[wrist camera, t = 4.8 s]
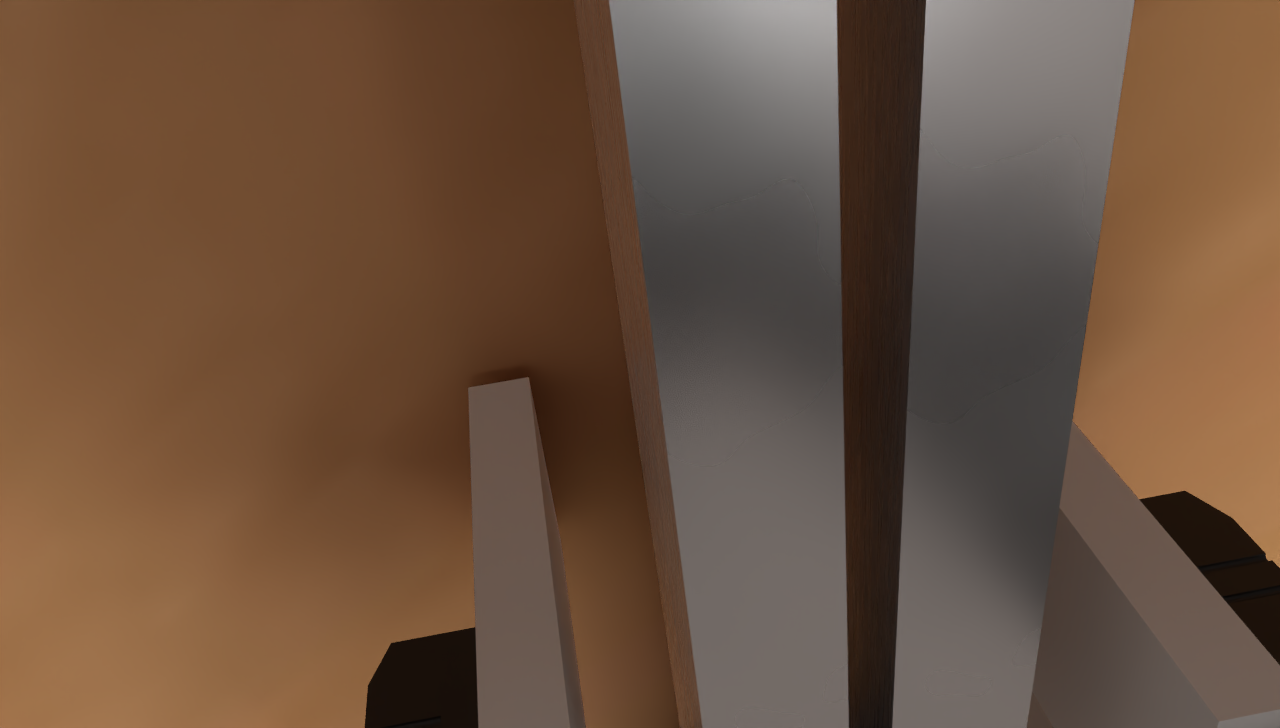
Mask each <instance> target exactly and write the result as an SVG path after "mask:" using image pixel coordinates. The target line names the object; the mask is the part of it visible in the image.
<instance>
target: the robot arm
mask: <svg viewBox="0 0 1280 728" xmlns="http://www.w3.org/2000/svg"><path fill="white" fill-rule="evenodd" d="M468 395H469V429H470V462H471V495H472V529H473V562H474V596H475V627H474V628H469V629H464V630H458V631H453V632H448V633H443V634H437V635H432V636H427V637H421V638H416V639H411V640H405V641H400V642H395V643H391V645H390V646H389V648H388V650H387V652H386V654H385V656H384V657H383V659H382V661H381V663H380V665H379V667H378V668H377V670H376V672H375V674H374V676H373V678H372V679H371V681H370V683H369V685H368V693H367V706H366V719H365V728H586V725H585V718H584V710H583V703H582V695H581V688H580V680H579V673H578V665H577V658H576V650H575V642H574V635H573V627H572V620H571V612H570V605H569V597H568V590H567V582H566V575H565V567H564V560H563V552H562V545H561V538H560V533H559V528H558V523H557V518H556V513H555V508H554V503H553V498H552V493H551V488H550V482H549V477H548V472H547V467H546V462H545V457H544V452H543V447H542V442H541V437H540V432H539V427H538V422H537V416H536V411H535V406H534V401H533V396H532V391H531V386H530V381H529V377H527V378H521V379H515V380H509V381H503V382H498V383H492V384H486V385H480V386H475V387H469V388H468ZM1265 554H1266V553H1265V552H1264V551H1263V550H1262V549H1261V548H1260V547H1259V546H1258V545H1257V544H1256V543H1255V542H1254V541H1253V540H1252V539H1251V537H1250V536H1249V535H1248V534H1247V533H1246V532H1245V531H1244V530H1243V529H1242V528H1241V527H1240V526H1239V525H1238V524H1237V523H1236V522H1235V520H1234V519H1233V518H1231V517H1230V516H1228V515H1226V514H1224V513H1223V512H1221V511H1219V510H1217V509H1216V508H1214V507H1212V506H1211V505H1209V504H1207V503H1205V502H1204V501H1202V500H1200V499H1199V498H1197V497H1195V496H1193V495H1192V494H1190V493H1188V492H1186V491H1181V492H1176V493H1171V494H1165V495H1160V496H1155V497H1150V498H1144V499H1138V498H1137V496H1136V495H1135V494H1134V493H1133V492H1132V491H1131V489H1130V488H1129V487H1128V486H1127V485H1126V483H1125V482H1124V481H1123V480H1122V479H1121V478H1120V476H1119V475H1118V474H1117V473H1116V472H1115V470H1114V469H1113V468H1112V467H1111V466H1110V465H1109V463H1108V462H1107V461H1106V460H1105V459H1104V458H1103V456H1102V455H1101V454H1100V453H1099V452H1098V450H1097V449H1096V448H1095V447H1094V446H1093V445H1092V443H1091V442H1090V441H1089V440H1088V439H1087V437H1086V436H1085V435H1084V434H1083V433H1082V432H1081V430H1080V429H1079V428H1078V427H1077V426H1076V424H1075V423H1074V422H1073V421H1072V425H1071V432H1070V439H1069V446H1068V452H1067V459H1066V466H1065V472H1064V479H1063V486H1062V493H1061V499H1060V506H1059V513H1058V520H1057V526H1056V533H1055V540H1054V547H1053V553H1052V560H1051V567H1050V574H1049V580H1048V587H1047V594H1046V600H1045V607H1044V614H1043V621H1042V627H1041V634H1040V641H1039V648H1038V654H1037V661H1036V668H1035V675H1034V681H1033V688H1032V691H1033V693H1034V695H1035V697H1036V698H1037V700H1038V702H1039V704H1040V705H1041V707H1042V709H1043V710H1044V712H1045V714H1046V716H1047V717H1048V719H1049V721H1050V722H1051V724H1052V726H1053V728H1280V568H1279V567H1278V566H1277V565H1276V564H1275V563H1274V562H1273V561H1268V560H1267V559H1266V556H1265Z"/></svg>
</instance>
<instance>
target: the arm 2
mask: <svg viewBox="0 0 1280 728" xmlns="http://www.w3.org/2000/svg"><path fill="white" fill-rule="evenodd" d="M1134 1H1135V0H837V57H838V117H839V176H840V235H841V294H842V353H843V413H844V472H845V531H846V590H847V649H848V709H849V728H1027V722H1028V715H1029V708H1030V701H1031V695H1032V688H1033V681H1034V675H1035V668H1036V661H1037V654H1038V648H1039V641H1040V634H1041V627H1042V621H1043V614H1044V607H1045V600H1046V594H1047V587H1048V580H1049V574H1050V567H1051V560H1052V553H1053V547H1054V540H1055V533H1056V526H1057V520H1058V513H1059V506H1060V499H1061V493H1062V486H1063V479H1064V472H1065V466H1066V459H1067V452H1068V446H1069V439H1070V432H1071V425H1072V419H1073V412H1074V405H1075V398H1076V392H1077V385H1078V378H1079V371H1080V365H1081V358H1082V351H1083V345H1084V338H1085V331H1086V324H1087V318H1088V311H1089V304H1090V297H1091V291H1092V284H1093V277H1094V270H1095V264H1096V257H1097V250H1098V243H1099V237H1100V230H1101V223H1102V217H1103V210H1104V203H1105V196H1106V190H1107V183H1108V176H1109V169H1110V163H1111V156H1112V149H1113V142H1114V136H1115V129H1116V122H1117V116H1118V109H1119V102H1120V95H1121V89H1122V82H1123V75H1124V68H1125V62H1126V55H1127V48H1128V41H1129V35H1130V28H1131V21H1132V15H1133V8H1134Z"/></svg>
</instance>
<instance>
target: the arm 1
mask: <svg viewBox="0 0 1280 728" xmlns="http://www.w3.org/2000/svg"><path fill="white" fill-rule="evenodd" d="M574 6H575V13H576V20H577V27H578V34H579V41H580V47H581V54H582V61H583V68H584V75H585V82H586V89H587V95H588V102H589V109H590V116H591V123H592V130H593V137H594V143H595V150H596V157H597V164H598V171H599V178H600V184H601V191H602V198H603V205H604V212H605V219H606V226H607V232H608V239H609V246H610V253H611V260H612V267H613V273H614V280H615V287H616V294H617V301H618V308H619V315H620V321H621V328H622V335H623V342H624V349H625V356H626V362H627V369H628V376H629V383H630V390H631V397H632V404H633V410H634V417H635V424H636V431H637V438H638V445H639V451H640V458H641V465H642V472H643V479H644V486H645V493H646V499H647V506H648V513H649V520H650V527H651V534H652V540H653V547H654V554H655V561H656V568H657V575H658V582H659V588H660V595H661V602H662V609H663V616H664V623H665V629H666V636H667V643H668V650H669V657H670V664H671V671H672V677H673V684H674V691H675V698H676V705H677V712H678V718H679V725H680V728H849V709H848V649H847V590H846V531H845V472H844V413H843V353H842V294H841V235H840V176H839V117H838V57H837V0H574Z"/></svg>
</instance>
